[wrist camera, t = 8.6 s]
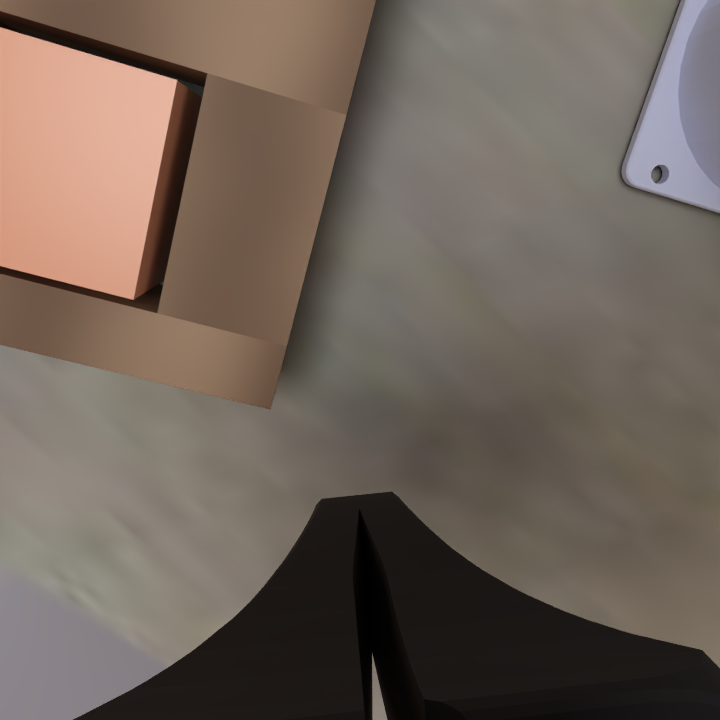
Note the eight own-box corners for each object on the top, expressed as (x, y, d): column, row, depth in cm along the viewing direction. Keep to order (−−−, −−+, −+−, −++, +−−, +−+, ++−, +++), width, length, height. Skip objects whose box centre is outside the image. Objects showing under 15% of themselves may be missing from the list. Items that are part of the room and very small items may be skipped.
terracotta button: (204, 100, 17) (177, 80, 14) (166, 278, 18) (133, 299, 15) (14, 43, 17) (-62, 8, 13) (-14, 232, 18) (-90, 242, 15)
